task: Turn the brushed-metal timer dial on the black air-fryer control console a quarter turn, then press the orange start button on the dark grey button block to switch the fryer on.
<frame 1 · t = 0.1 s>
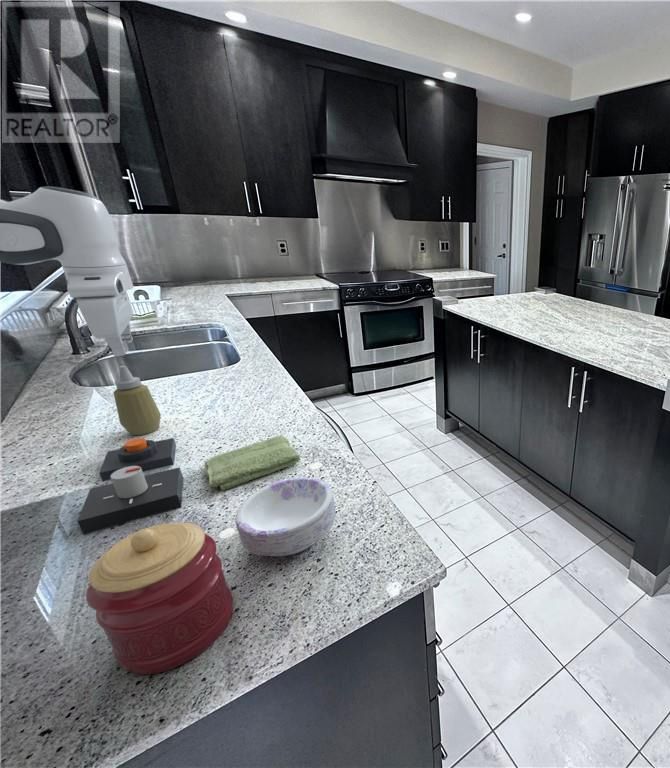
hand: (124, 348, 83), 27 cm above the countertop, tool pointing down, fingers open, 8 cm apart
kitchen canister: (181, 630, 57), on the countertop
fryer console: (138, 503, 80), on the countertop
timer dial: (129, 481, 78), point 5 cm above the countertop, hinge at 0.0°
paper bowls: (293, 537, 74), on the countertop
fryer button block: (142, 462, 93), on the countertop
washcloth: (253, 467, 94), on the countertop
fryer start: (136, 445, 92), point 4 cm above the countertop, slide at 0.1 cm
squeeze bottle: (145, 431, 106), on the countertop
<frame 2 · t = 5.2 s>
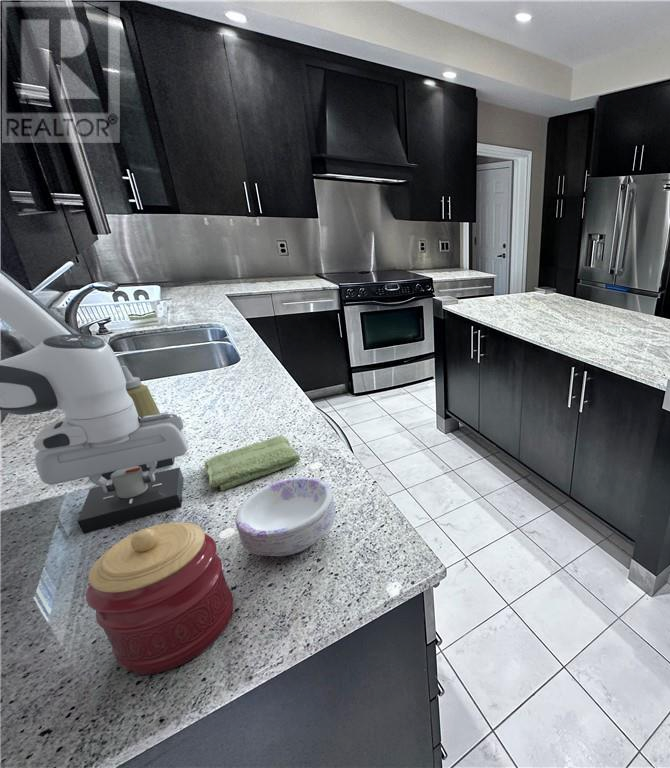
hand: (130, 485, 79), 4 cm above the countertop, tool pointing down, fingers closed on timer dial, 4 cm apart
timer dial: (129, 481, 78), point 5 cm above the countertop, hinge at -0.2°, touching gripper
everything else where it was.
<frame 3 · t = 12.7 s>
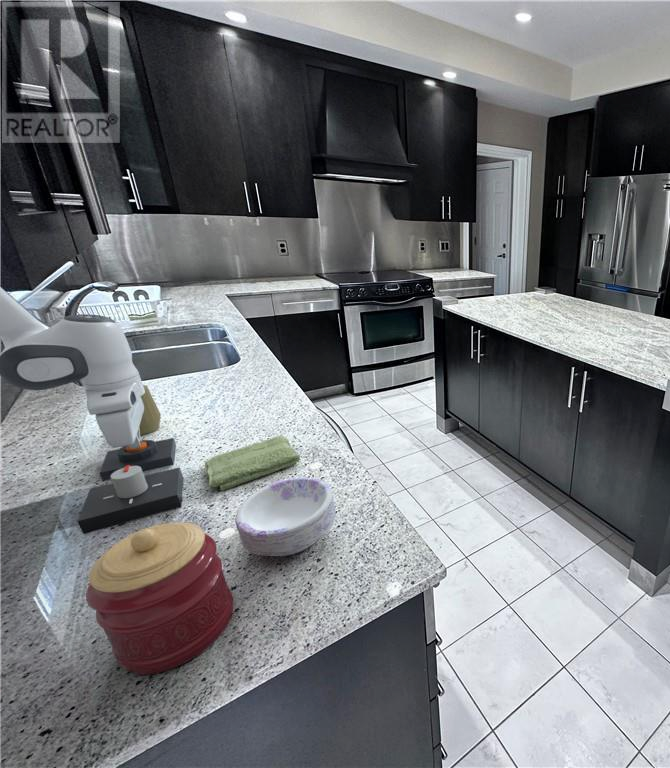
hand: (136, 445, 92), 4 cm above the countertop, tool pointing down, fingers closed, pressing on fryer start
timer dial: (129, 481, 78), point 5 cm above the countertop, hinge at 87.7°
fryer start: (137, 448, 92), point 4 cm above the countertop, slide at -0.8 cm, touching gripper
everything else where it was.
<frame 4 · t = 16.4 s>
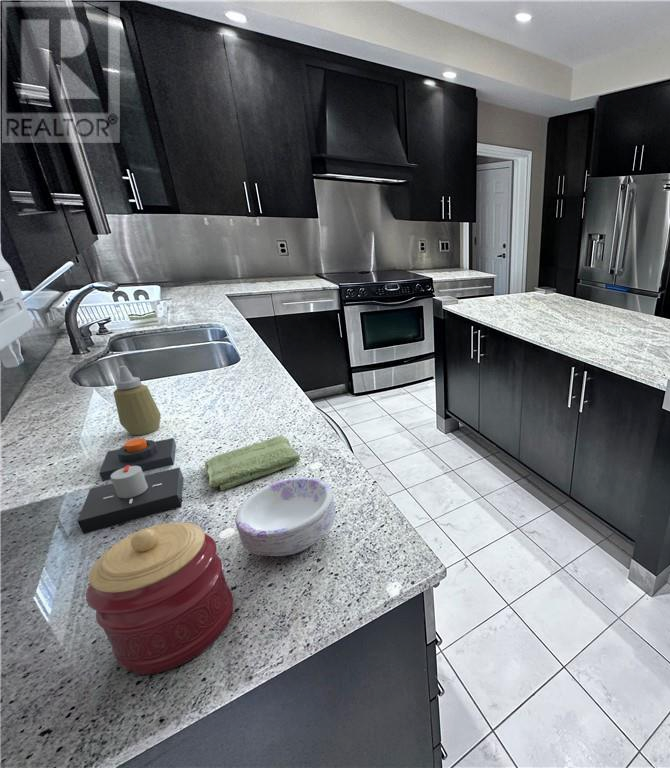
hand: (15, 365, 74), 27 cm above the countertop, tool pointing down, fingers closed
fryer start: (136, 445, 92), point 4 cm above the countertop, slide at 0.1 cm
everything else where it was.
at the end: timer dial at +88° (first picture: +0°); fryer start pushed in 1.1 cm at the most during the clip, back to where it started at the end; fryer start slide at 0.1 cm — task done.
